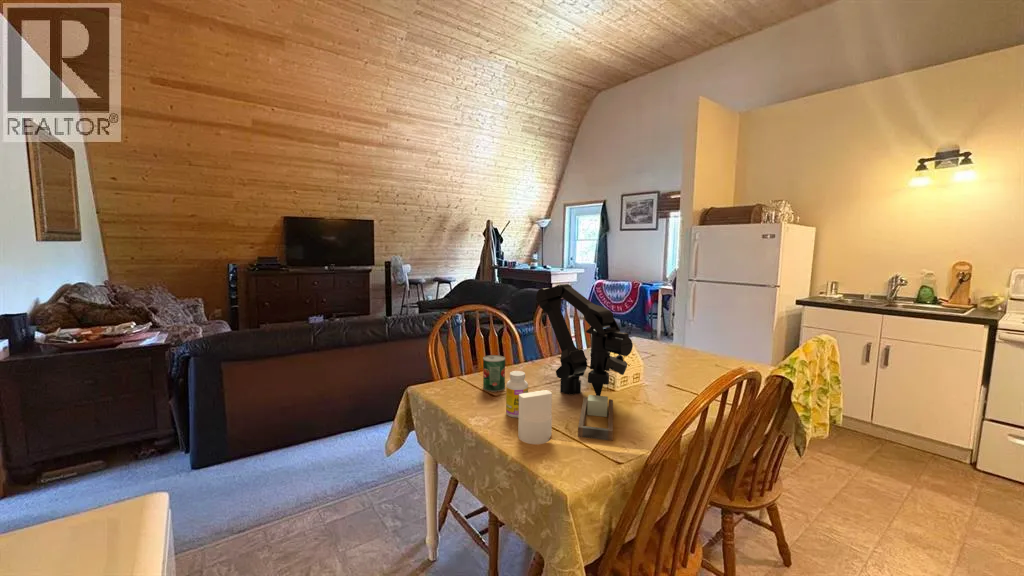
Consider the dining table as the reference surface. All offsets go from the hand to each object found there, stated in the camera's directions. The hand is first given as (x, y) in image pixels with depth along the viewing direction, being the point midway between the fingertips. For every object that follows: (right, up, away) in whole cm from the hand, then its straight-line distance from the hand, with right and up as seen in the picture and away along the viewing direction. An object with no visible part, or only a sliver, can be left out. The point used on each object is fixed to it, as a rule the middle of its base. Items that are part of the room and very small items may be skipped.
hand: (598, 396), depth 135 cm
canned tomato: (-34, -1, +16) cm, 38 cm away
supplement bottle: (-26, -4, -7) cm, 27 cm away
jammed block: (-2, -3, -8) cm, 8 cm away
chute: (-3, -5, -13) cm, 14 cm away
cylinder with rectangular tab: (-22, -6, -21) cm, 31 cm away
